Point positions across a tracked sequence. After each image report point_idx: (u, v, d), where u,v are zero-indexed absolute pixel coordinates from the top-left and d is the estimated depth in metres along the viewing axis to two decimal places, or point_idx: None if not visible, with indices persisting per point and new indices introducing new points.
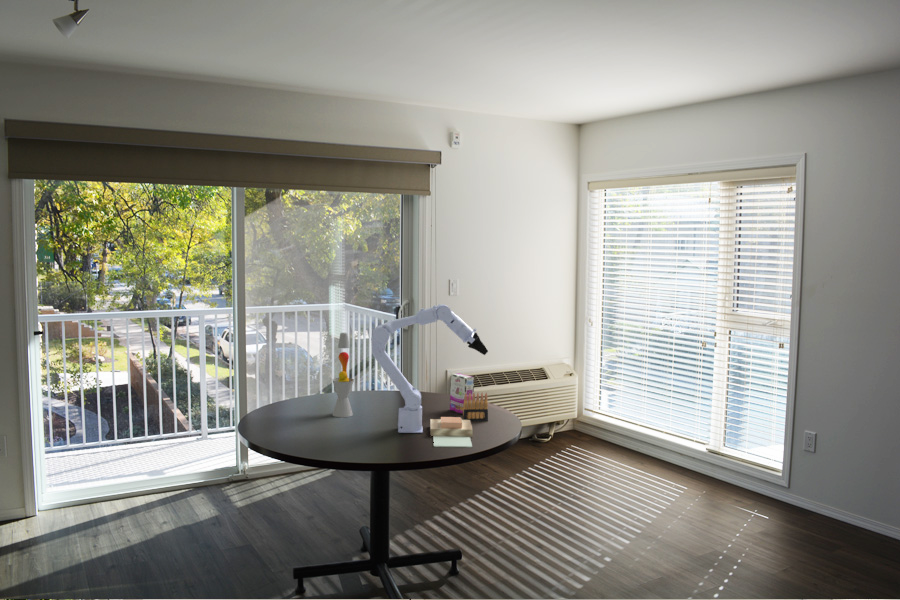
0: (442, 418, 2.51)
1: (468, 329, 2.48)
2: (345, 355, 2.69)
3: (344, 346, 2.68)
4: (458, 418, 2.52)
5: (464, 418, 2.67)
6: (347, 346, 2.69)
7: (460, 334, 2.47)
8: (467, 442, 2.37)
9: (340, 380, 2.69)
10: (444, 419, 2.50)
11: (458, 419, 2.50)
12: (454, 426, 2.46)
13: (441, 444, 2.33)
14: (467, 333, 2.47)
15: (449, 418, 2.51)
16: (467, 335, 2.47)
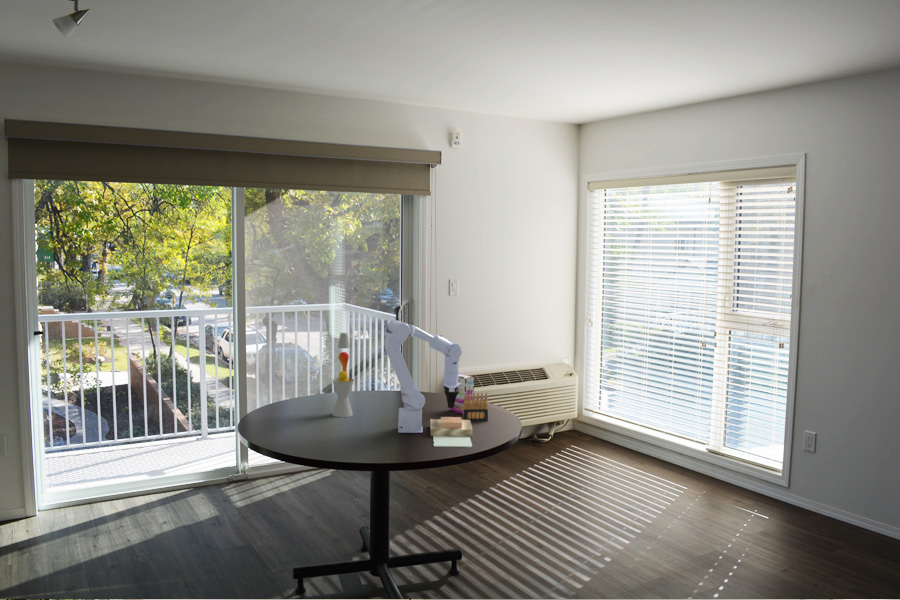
0: (442, 418, 2.51)
1: (456, 380, 2.56)
2: (345, 355, 2.69)
3: (344, 346, 2.68)
4: (458, 418, 2.52)
5: (464, 418, 2.67)
6: (347, 346, 2.69)
7: (447, 377, 2.55)
8: (467, 442, 2.37)
9: (340, 380, 2.69)
10: (444, 419, 2.50)
11: (458, 419, 2.50)
12: (454, 426, 2.46)
13: (441, 444, 2.33)
14: (452, 381, 2.55)
15: (449, 418, 2.51)
16: (451, 383, 2.55)
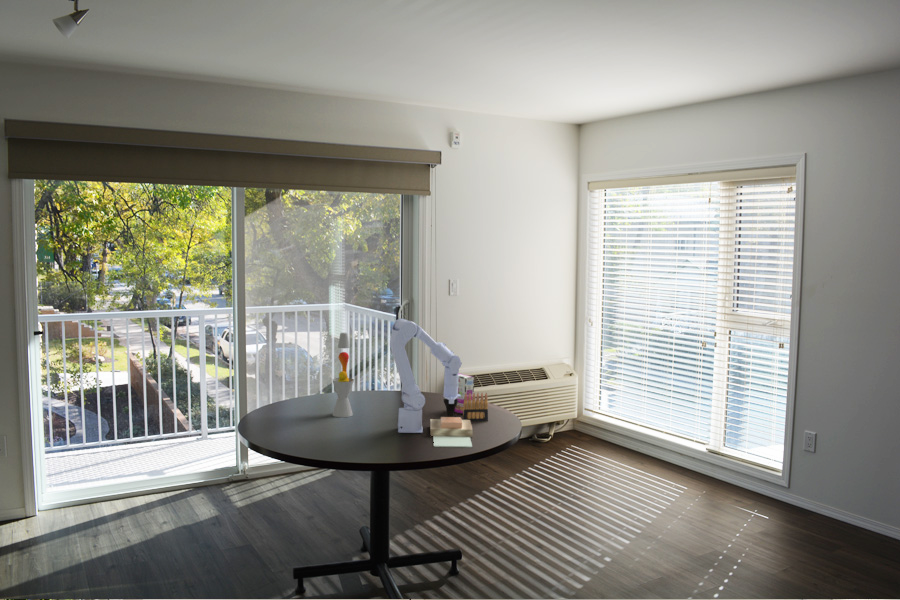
0: (442, 418, 2.51)
1: (456, 391, 2.56)
2: (345, 355, 2.69)
3: (344, 346, 2.68)
4: (458, 418, 2.52)
5: (464, 418, 2.67)
6: (347, 346, 2.69)
7: (447, 388, 2.56)
8: (467, 442, 2.37)
9: (340, 380, 2.69)
10: (444, 419, 2.50)
11: (458, 419, 2.50)
12: (454, 426, 2.46)
13: (441, 444, 2.33)
14: (452, 393, 2.55)
15: (449, 418, 2.51)
16: (451, 394, 2.55)
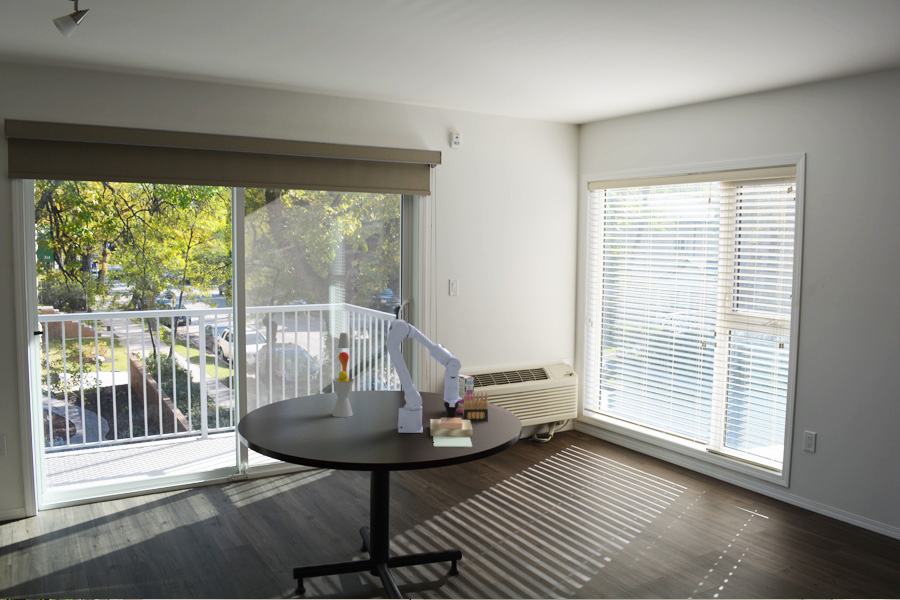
0: (442, 419, 2.50)
1: (456, 394, 2.51)
2: (345, 355, 2.69)
3: (344, 346, 2.68)
4: (458, 419, 2.51)
5: (464, 418, 2.67)
6: (347, 346, 2.69)
7: (447, 391, 2.50)
8: (467, 442, 2.37)
9: (340, 380, 2.69)
10: (444, 420, 2.49)
11: (458, 420, 2.49)
12: (454, 427, 2.45)
13: (441, 444, 2.33)
14: (453, 396, 2.50)
15: (449, 419, 2.50)
16: (451, 397, 2.50)
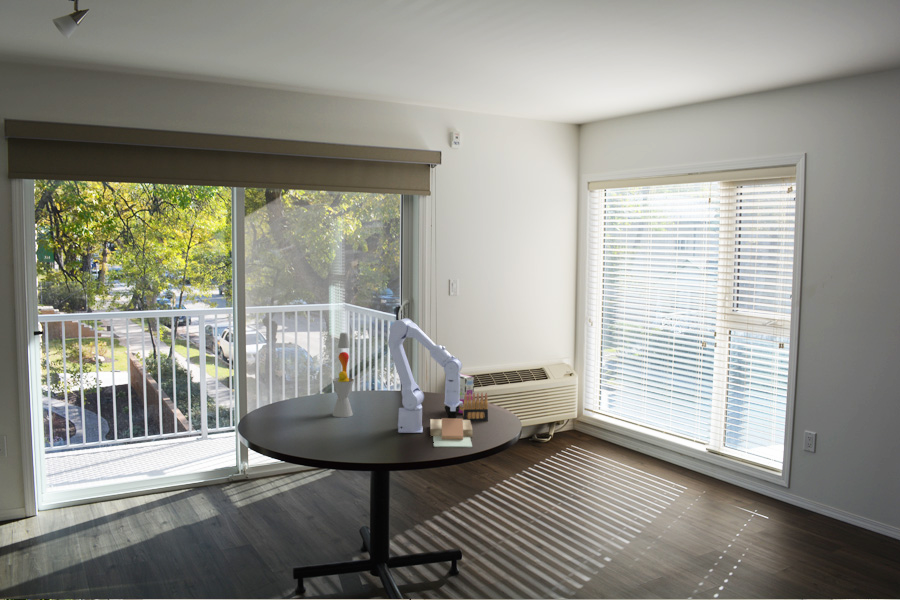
0: (443, 423, 2.43)
1: (457, 398, 2.45)
2: (345, 355, 2.69)
3: (344, 346, 2.68)
4: (460, 422, 2.43)
5: (464, 418, 2.67)
6: (347, 346, 2.69)
7: (448, 395, 2.44)
8: (467, 442, 2.37)
9: (340, 380, 2.69)
10: (445, 426, 2.42)
11: (459, 425, 2.42)
12: (455, 438, 2.40)
13: (441, 444, 2.33)
14: (454, 400, 2.44)
15: (450, 422, 2.43)
16: (452, 401, 2.44)
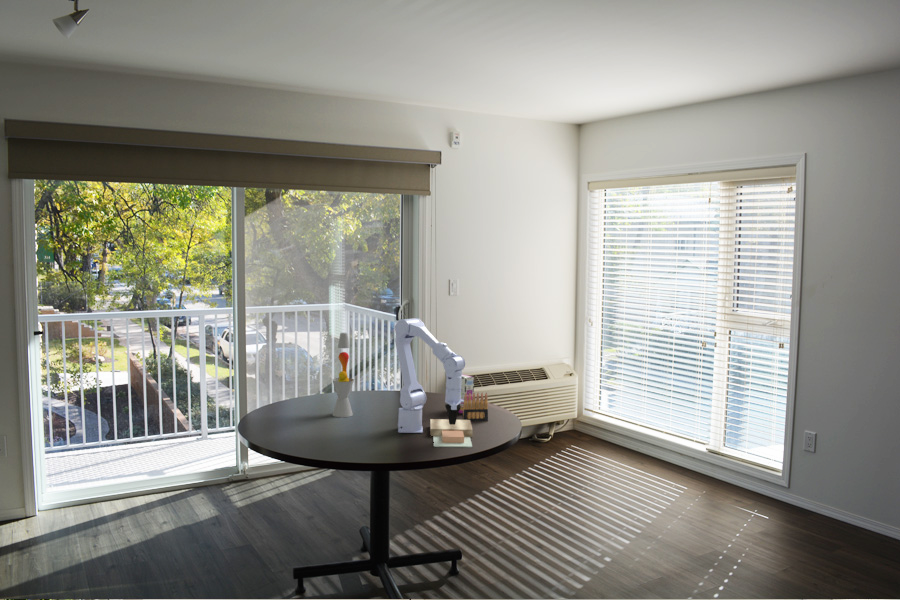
0: (443, 432, 2.41)
1: (459, 396, 2.37)
2: (345, 355, 2.69)
3: (344, 346, 2.68)
4: (460, 432, 2.42)
5: (464, 418, 2.67)
6: (347, 346, 2.69)
7: (449, 393, 2.37)
8: (467, 442, 2.37)
9: (340, 380, 2.69)
10: (445, 433, 2.40)
11: (460, 433, 2.40)
12: (456, 440, 2.36)
13: (441, 444, 2.33)
14: (455, 398, 2.36)
15: (451, 432, 2.42)
16: (453, 399, 2.36)
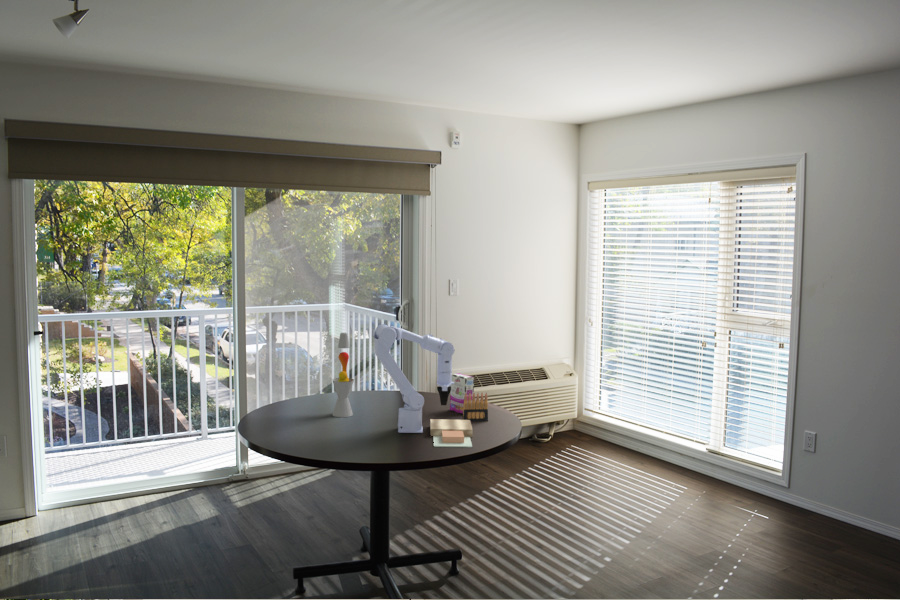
0: (443, 432, 2.41)
1: (449, 378, 2.53)
2: (345, 355, 2.69)
3: (344, 346, 2.68)
4: (460, 432, 2.42)
5: (464, 418, 2.67)
6: (347, 346, 2.69)
7: (440, 376, 2.52)
8: (467, 442, 2.37)
9: (340, 380, 2.69)
10: (445, 433, 2.40)
11: (460, 433, 2.40)
12: (456, 440, 2.36)
13: (441, 444, 2.33)
14: (445, 380, 2.52)
15: (451, 432, 2.42)
16: (444, 381, 2.52)
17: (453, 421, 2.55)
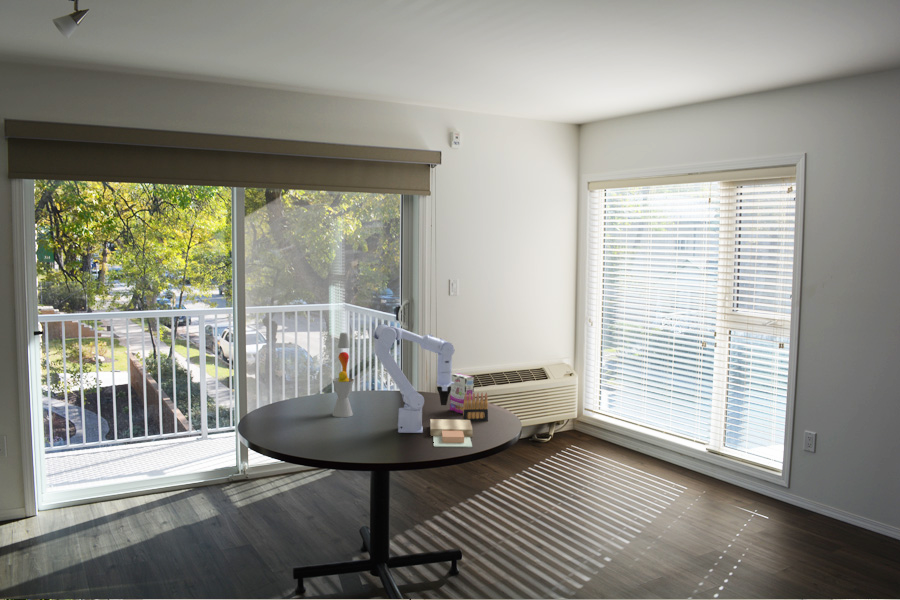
0: (443, 432, 2.41)
1: (449, 378, 2.53)
2: (345, 355, 2.69)
3: (344, 346, 2.68)
4: (460, 432, 2.42)
5: (464, 418, 2.67)
6: (347, 346, 2.69)
7: (440, 376, 2.52)
8: (467, 442, 2.37)
9: (340, 380, 2.69)
10: (445, 433, 2.40)
11: (460, 433, 2.40)
12: (456, 440, 2.36)
13: (441, 444, 2.33)
14: (445, 380, 2.52)
15: (451, 432, 2.42)
16: (444, 381, 2.52)
17: (453, 421, 2.55)
